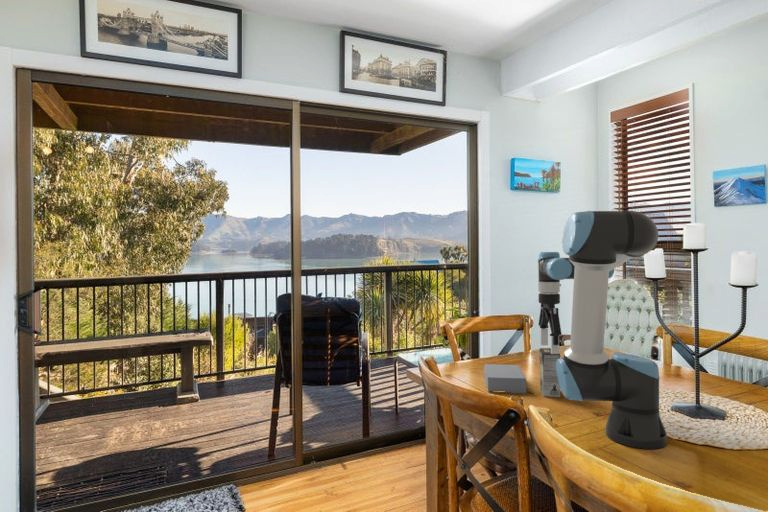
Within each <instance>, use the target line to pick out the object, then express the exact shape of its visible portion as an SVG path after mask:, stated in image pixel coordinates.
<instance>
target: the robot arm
mask: <svg viewBox="0 0 768 512" xmlns="http://www.w3.org/2000/svg"><path fill="white" fill-rule="evenodd" d="M562 232H563V233H562V239H561V240H562V241H561V242H562V243H561V244H562V251H563V253H564V254H565V255H567V256H568V257H560V256H561V254H560V253H559V252H558V251H541V252H539V253H538V259H537V264H538V266H537V268H538V269H537V270H538V281H537V282H538V285H537V289H538V292H539V293H538V303H539V304H540V309H539V311H540V312H539V316H538V317H539V318H538V326H539V329H540V331H539V333H540V334H539V335H540V336H539V337H540V338H539V340H540V341H539V343H540V344H539V345H540V346H549V336H550V348H551V354H559V353H560V336H562V329H561V323H560V316H559V308H558V307H556V306H555V305H559V304H560V303H561V294H560V291H561V290H560V289H561V286H562V284H561V283H560V282H561V281H563V280H573V290H572V291H573V292H572V309H571V311H572V312H571V324H570V325H571V326H570V328H571V329H570V343H569V347H567V348H566V349H564V351H563V352H564V353H563V357H560V359H558V360H557V362H556V371H557V377H558V382H559V385H560V392H561V393H562V395H563V396H564V398H566V399H567V400H570V401H580V402H612V405H611V406H612V408H611V410H610V413H609V416H608V417H607V421H606V424H605V434H606V436H607V437H608V438H609V440H612V441H613V442H616V443H619V444H621V445H623V446H626V447H631V448H637V449H644V450H655V449H661V448H664V447H666V446H667V442H668V436H667V432H666V430H665V427H664V424H663V421H662V419H661V415H660V378H661V377H660V371H659V365H658V363H657V362H655V361H654V360H653V359H650V358H647V357H644V356H642V355H641V356H640V355H635V354H632V353H623V352H614V353H612V355H611V356H610V358H609V355H608V353H606V352H605V350H604V347H605V346H604V345H605V334H606V332H605V331H606V329H605V328H606V315H607V306H608V305H607V304H608V303H607V302H608V293H609V292H608V290H609V279H611V278H613V275H614V274H615V269H616V268H619V267H620V266H622V265H623V264H624V263H626V262H627V261H629V260H631V259H633V258H640V257H642V256H645V255H647V254H648V253H650V252H651V250H654V248H655V246H656V245H657V243H658V240H659V231H658V227H657V225H656V224H655V222H654V220H652V218H650V217H649V216H647V215H646V214H645V213H641V212H640V211H635V210H587V211H585V210H584V211H576V212H574V213H572V214H570V215H569V217H568V218H567V220H566V222H565V225H564V228H563V231H562ZM549 329H550V331H551V333H550V334H549Z"/></svg>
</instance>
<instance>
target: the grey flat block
mask: <svg viewBox="0 0 768 512" xmlns="http://www.w3.org/2000/svg"><path fill="white" fill-rule="evenodd" d="M483 368H484V369H483V370H484V372H483V373H484V377H485V378H484V380H485V381H486V382H485V381H484V382H485V385H487V386H486V389H487V388H488V390H487V392H488V391H505V392H511V393H510V394H527V378H526V375H525V374H524V372H523V371H522V368H521V367H520V366H519V364H493V363H492V364H489V363H488V364H487V363H485V364H484V365H483Z"/></svg>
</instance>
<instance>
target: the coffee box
mask: <svg viewBox="0 0 768 512" xmlns="http://www.w3.org/2000/svg"><path fill="white" fill-rule="evenodd" d="M560 358H561V353H560V352H559V354H551V347H550V348H546V347H545V348H544V347H541V348H539V390H540V392H541V394H542V396H543V397H546V398H547V397H551V398H561V388H560V385H559V382H558V377H557V371H556V362H557V360H558V359H560Z"/></svg>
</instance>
